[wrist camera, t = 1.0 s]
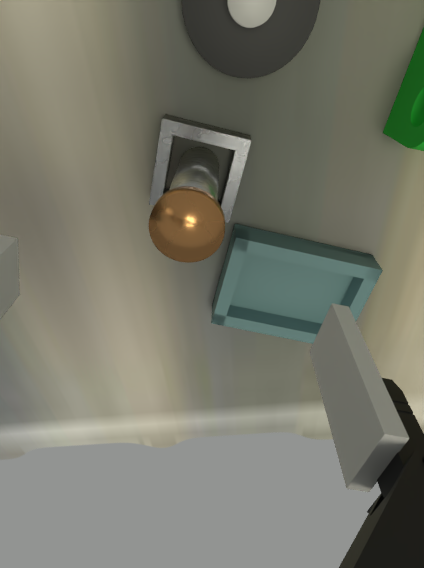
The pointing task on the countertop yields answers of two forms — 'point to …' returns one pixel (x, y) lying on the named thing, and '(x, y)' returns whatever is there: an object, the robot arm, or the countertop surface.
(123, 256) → the countertop surface
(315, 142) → the countertop surface
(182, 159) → the pin
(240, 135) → the grey metal square frame
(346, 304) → the tray
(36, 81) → the countertop surface
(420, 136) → the mechanical part
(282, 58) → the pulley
